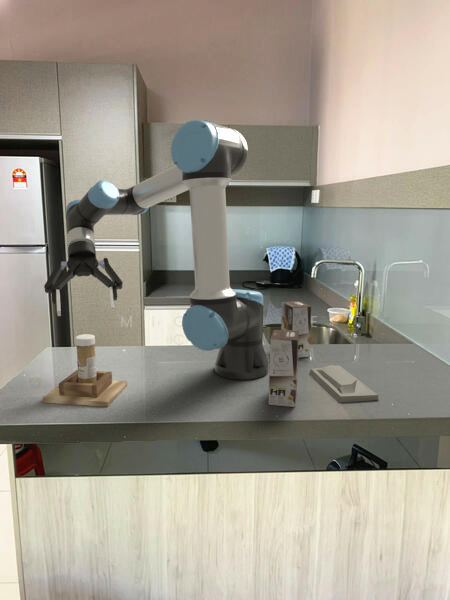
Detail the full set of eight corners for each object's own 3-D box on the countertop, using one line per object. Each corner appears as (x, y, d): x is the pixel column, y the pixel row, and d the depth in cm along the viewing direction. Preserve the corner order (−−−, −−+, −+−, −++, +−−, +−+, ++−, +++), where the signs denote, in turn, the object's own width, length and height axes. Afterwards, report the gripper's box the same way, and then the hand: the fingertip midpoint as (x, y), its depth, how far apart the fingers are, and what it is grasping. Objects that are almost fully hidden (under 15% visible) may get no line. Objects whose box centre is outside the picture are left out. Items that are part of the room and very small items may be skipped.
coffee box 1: (310, 357, 142) (312, 306, 139) (291, 358, 140) (292, 307, 137) (297, 348, 151) (299, 300, 147) (279, 350, 149) (280, 301, 146)
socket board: (127, 385, 119) (126, 370, 118) (107, 406, 106) (107, 389, 105) (68, 382, 121) (67, 366, 120) (42, 402, 108) (41, 385, 107)
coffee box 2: (295, 407, 106) (298, 340, 103) (267, 405, 107) (269, 338, 104) (297, 392, 115) (299, 329, 111) (271, 390, 116) (273, 328, 113)
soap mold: (338, 405, 109) (339, 391, 108) (308, 375, 128) (308, 363, 127) (378, 402, 110) (379, 388, 110) (342, 373, 130) (343, 361, 129)
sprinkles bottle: (74, 389, 113) (71, 336, 110) (90, 383, 117) (87, 332, 114) (85, 393, 110) (82, 339, 108) (101, 388, 114) (98, 335, 111)
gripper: (125, 254, 138) (133, 315, 128) (36, 256, 131) (36, 322, 120) (126, 238, 132) (135, 301, 122) (33, 240, 124) (33, 307, 114)
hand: (86, 311), depth 121 cm, fingers open, 13 cm apart
